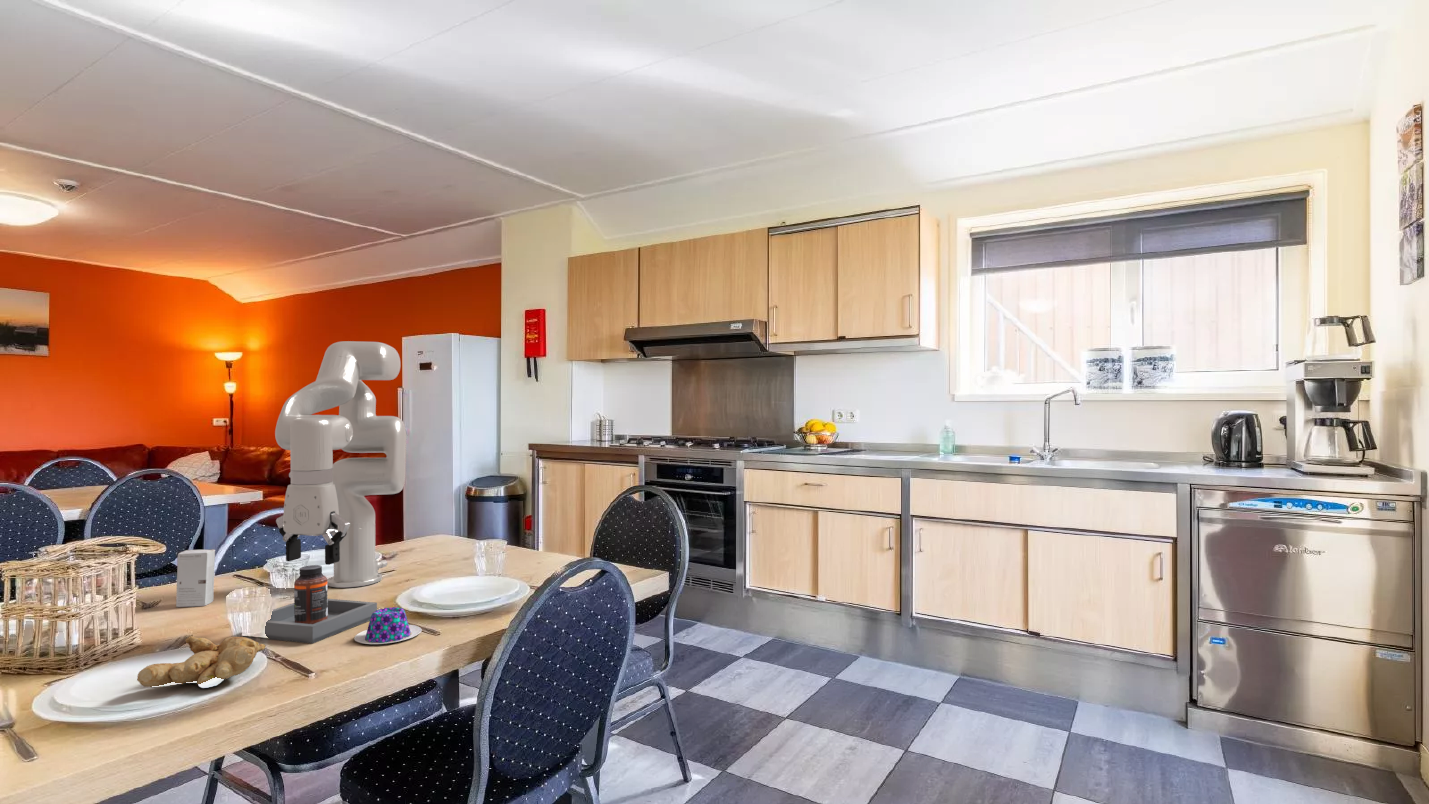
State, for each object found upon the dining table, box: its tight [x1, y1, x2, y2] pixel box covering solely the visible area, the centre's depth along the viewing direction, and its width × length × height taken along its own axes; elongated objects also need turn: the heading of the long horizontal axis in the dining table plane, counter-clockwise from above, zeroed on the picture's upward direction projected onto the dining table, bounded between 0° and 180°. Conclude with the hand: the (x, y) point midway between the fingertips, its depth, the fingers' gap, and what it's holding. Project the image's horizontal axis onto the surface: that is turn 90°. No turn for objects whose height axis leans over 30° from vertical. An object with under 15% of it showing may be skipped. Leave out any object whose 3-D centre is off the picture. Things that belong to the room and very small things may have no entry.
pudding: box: [353, 606, 422, 645], centre depth 140 cm, size 12×12×5 cm
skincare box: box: [175, 549, 216, 608], centre depth 162 cm, size 6×4×12 cm
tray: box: [265, 598, 378, 644], centre depth 146 cm, size 17×17×3 cm
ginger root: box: [136, 635, 266, 688], centre depth 118 cm, size 16×16×8 cm
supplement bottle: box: [293, 564, 329, 624], centre depth 146 cm, size 6×6×11 cm
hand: (312, 561), depth 146 cm, fingers open, 9 cm apart
